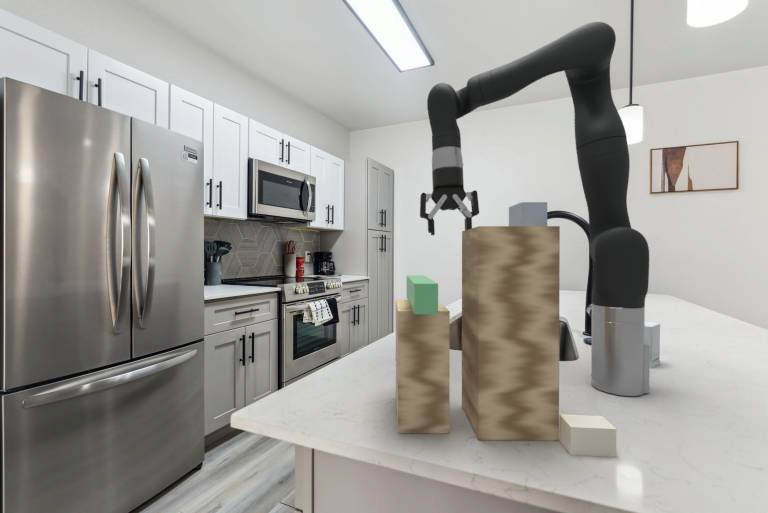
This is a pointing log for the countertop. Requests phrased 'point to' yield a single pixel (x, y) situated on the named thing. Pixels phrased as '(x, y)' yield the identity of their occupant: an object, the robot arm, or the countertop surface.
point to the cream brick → (587, 435)
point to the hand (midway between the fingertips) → (449, 234)
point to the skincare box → (653, 342)
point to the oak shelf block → (511, 331)
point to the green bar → (422, 295)
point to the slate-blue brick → (528, 214)
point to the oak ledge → (422, 370)
